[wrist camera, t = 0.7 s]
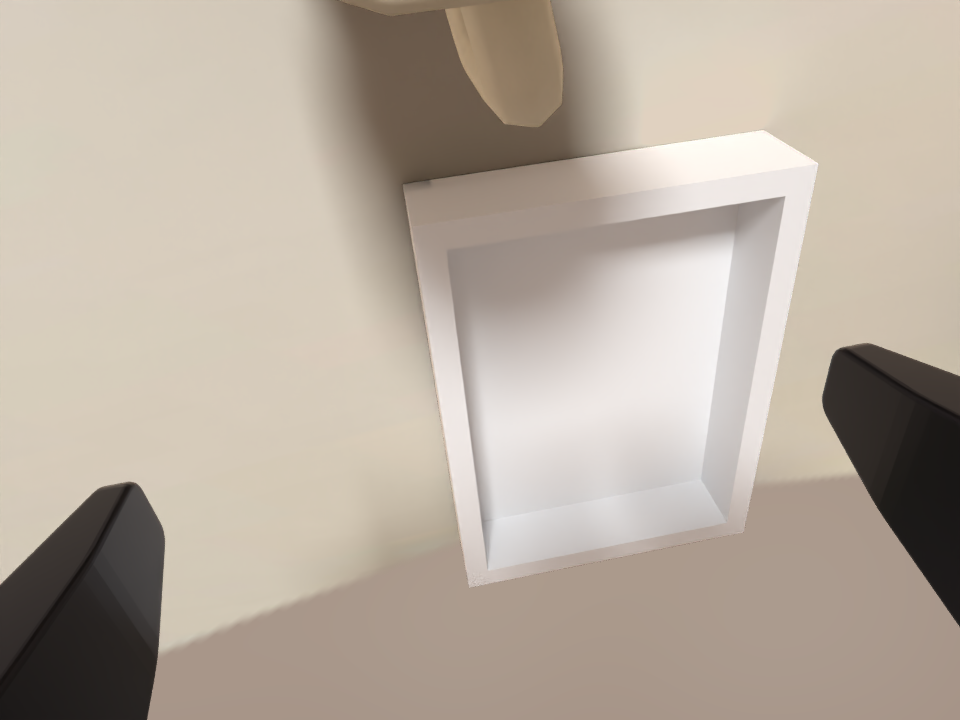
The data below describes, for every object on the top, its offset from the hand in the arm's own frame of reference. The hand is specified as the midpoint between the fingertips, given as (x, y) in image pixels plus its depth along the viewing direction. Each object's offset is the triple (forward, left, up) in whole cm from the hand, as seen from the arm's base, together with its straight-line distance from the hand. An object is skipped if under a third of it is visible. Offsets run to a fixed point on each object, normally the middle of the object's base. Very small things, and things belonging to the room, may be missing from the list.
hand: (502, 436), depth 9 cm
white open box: (-5, +9, -13) cm, 17 cm away
